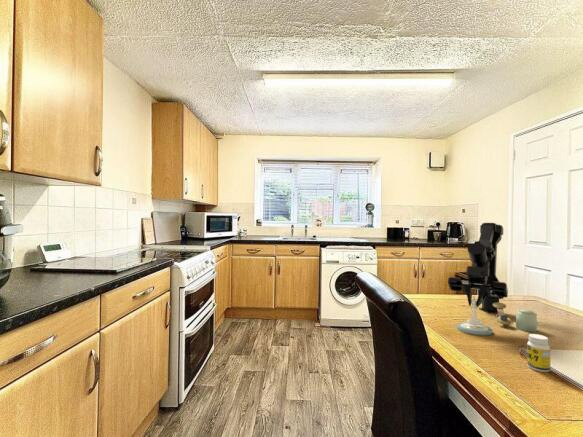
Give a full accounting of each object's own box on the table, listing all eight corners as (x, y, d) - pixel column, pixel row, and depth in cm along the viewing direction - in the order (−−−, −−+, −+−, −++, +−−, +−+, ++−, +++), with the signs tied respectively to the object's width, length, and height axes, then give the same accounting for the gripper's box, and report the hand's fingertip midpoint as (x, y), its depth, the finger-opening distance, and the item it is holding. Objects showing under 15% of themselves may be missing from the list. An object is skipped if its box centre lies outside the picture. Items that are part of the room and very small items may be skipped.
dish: (450, 325, 115) (450, 322, 115) (477, 324, 116) (477, 321, 116) (471, 336, 104) (471, 332, 104) (500, 335, 105) (500, 331, 106)
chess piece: (483, 323, 111) (482, 295, 111) (481, 326, 107) (481, 298, 107) (467, 320, 114) (467, 293, 114) (465, 324, 110) (465, 296, 110)
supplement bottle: (522, 364, 83) (522, 333, 83) (538, 363, 84) (538, 332, 84) (538, 373, 78) (538, 340, 79) (555, 372, 79) (554, 339, 79)
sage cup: (512, 326, 114) (511, 308, 114) (526, 325, 115) (526, 308, 115) (526, 332, 108) (525, 313, 109) (541, 331, 109) (541, 312, 109)
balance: (492, 314, 129) (492, 301, 129) (505, 316, 127) (505, 303, 127) (497, 326, 114) (497, 311, 114) (512, 328, 112) (512, 313, 112)
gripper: (448, 256, 120) (440, 289, 112) (506, 259, 108) (501, 297, 99) (454, 273, 126) (446, 306, 117) (509, 279, 113) (505, 315, 105)
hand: (473, 305), depth 110 cm, fingers closed on chess piece
